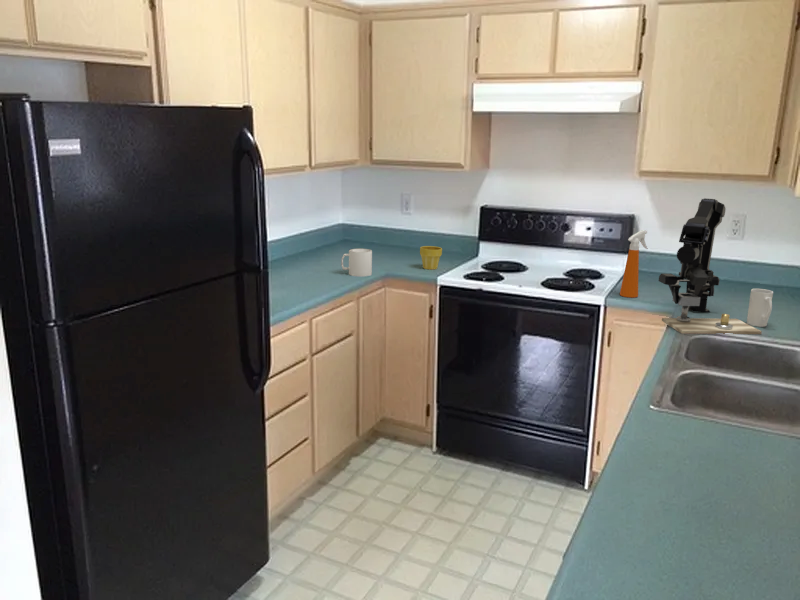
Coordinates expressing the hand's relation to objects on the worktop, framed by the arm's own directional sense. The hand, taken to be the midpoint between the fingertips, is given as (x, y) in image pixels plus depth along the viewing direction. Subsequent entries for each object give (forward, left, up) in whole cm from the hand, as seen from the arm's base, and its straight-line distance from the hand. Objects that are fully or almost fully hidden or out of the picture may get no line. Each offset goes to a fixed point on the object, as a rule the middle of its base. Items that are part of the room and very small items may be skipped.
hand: (685, 303), depth 226 cm
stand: (0, 0, -7) cm, 7 cm away
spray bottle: (-40, -2, -7) cm, 41 cm away
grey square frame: (0, 0, 0) cm, 0 cm away
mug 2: (+2, +26, -7) cm, 27 cm away
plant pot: (-89, -79, -7) cm, 120 cm away
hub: (+8, +10, -6) cm, 14 cm away
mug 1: (-75, -113, -7) cm, 136 cm away
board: (+4, +7, -7) cm, 11 cm away
